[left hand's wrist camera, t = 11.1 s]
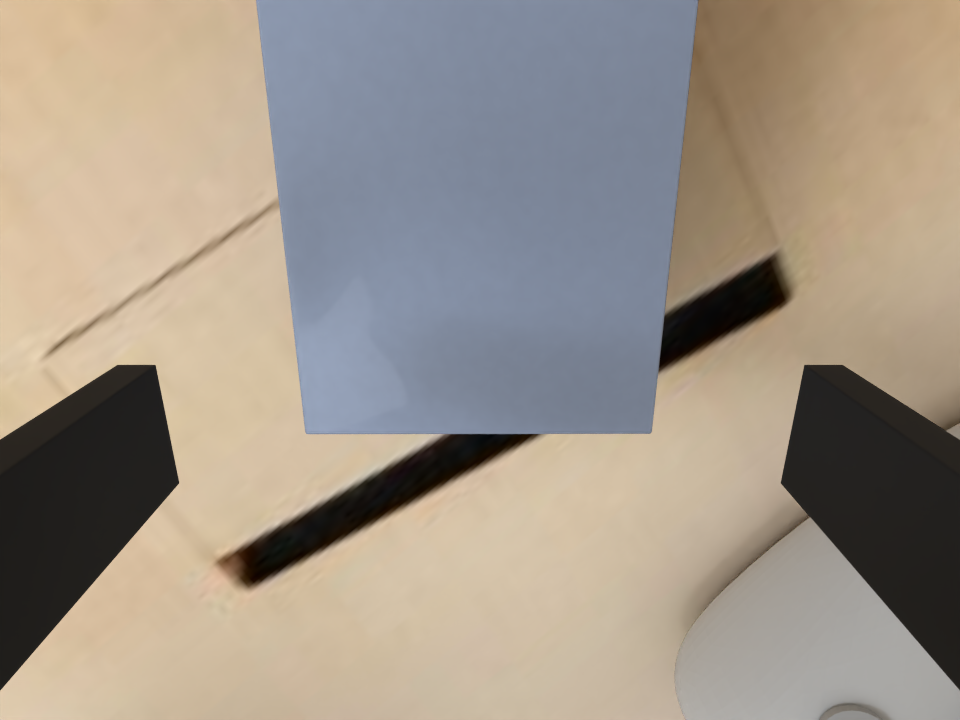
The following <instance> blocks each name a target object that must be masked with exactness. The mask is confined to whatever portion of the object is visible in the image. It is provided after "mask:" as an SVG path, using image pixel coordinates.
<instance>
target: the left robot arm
mask: <svg viewBox="0 0 960 720" xmlns="http://www.w3.org/2000/svg"><path fill="white" fill-rule="evenodd" d="M178 484H179V480H178V475H177V470H176V465H175V460H174V455H173V450H172V445H171V440H170V435H169V430H168V425H167V420H166V415H165V410H164V405H163V400H162V395H161V390H160V385H159V380H158V375H157V370H156V365H117V366H115V367H114V368H112V369H111V370H109V371H107V372H106V373H104V374H103V375H101V376H100V377H98V378H96V379H95V380H93V381H92V382H90V383H89V384H87V385H85V386H84V387H82V388H81V389H79V390H78V391H76V392H74V393H73V394H71V395H70V396H68V397H67V398H65V399H63V400H62V401H60V402H59V403H57V404H56V405H54V406H52V407H51V408H49V409H48V410H46V411H45V412H43V413H41V414H40V415H38V416H37V417H35V418H34V419H32V420H30V421H29V422H27V423H26V424H24V425H23V426H21V427H19V428H18V429H16V430H15V431H13V432H12V433H10V434H8V435H7V436H5V437H4V438H2V439H1V440H0V690H1V689H2V688H3V687H4V686H5V684H6V683H7V682H8V681H9V680H10V679H11V677H12V676H13V675H14V674H15V673H16V672H17V670H18V669H19V668H20V667H21V666H22V665H23V664H24V662H25V661H26V660H27V659H28V658H29V657H30V655H31V654H32V653H33V652H34V651H35V650H36V648H37V647H38V646H39V645H40V644H41V643H42V641H43V640H44V639H45V638H46V637H47V636H48V635H49V633H50V632H51V631H52V630H53V629H54V628H55V626H56V625H57V624H58V623H59V622H60V621H61V619H62V618H63V617H64V616H65V615H66V614H67V613H68V611H69V610H70V609H71V608H72V607H73V606H74V604H75V603H76V602H77V601H78V600H79V599H80V597H81V596H82V595H83V594H84V593H85V592H86V590H87V589H88V588H89V587H90V586H91V585H92V584H93V582H94V581H95V580H96V579H97V578H98V577H99V575H100V574H101V573H102V572H103V571H104V570H105V568H106V567H107V566H108V565H109V564H110V563H111V562H112V560H113V559H114V558H115V557H116V556H117V555H118V553H119V552H120V551H121V550H122V549H123V548H124V546H125V545H126V544H127V543H128V542H129V541H130V539H131V538H132V537H133V536H134V535H135V534H136V533H137V531H138V530H139V529H140V528H141V527H142V526H143V524H144V523H145V522H146V521H147V520H148V519H149V517H150V516H151V515H152V514H153V513H154V512H155V510H156V509H157V508H158V507H159V506H160V505H161V504H162V502H163V501H164V500H165V499H166V498H167V497H168V495H169V494H170V493H171V492H172V491H173V490H174V488H175V487H176V486H177V485H178ZM781 484H782V485H783V486H784V487H785V488H786V490H787V491H788V492H789V493H790V494H791V495H792V497H793V498H794V499H795V500H796V501H797V502H798V504H799V505H800V506H801V507H802V508H803V509H804V511H805V512H806V513H807V514H808V515H809V516H810V517H811V519H812V520H813V521H814V522H815V523H816V524H817V526H818V527H819V528H820V529H821V530H822V531H823V533H824V534H825V535H826V536H827V537H828V538H829V539H830V541H831V542H832V543H833V544H834V545H835V546H836V548H837V549H838V550H839V551H840V552H841V553H842V555H843V556H844V557H845V558H846V559H847V560H848V562H849V563H850V564H851V565H852V566H853V567H854V568H855V570H856V571H857V572H858V573H859V574H860V575H861V577H862V578H863V579H864V580H865V581H866V582H867V584H868V585H869V586H870V587H871V588H872V589H873V590H874V592H875V593H876V594H877V595H878V596H879V597H880V599H881V600H882V601H883V602H884V603H885V604H886V606H887V607H888V608H889V609H890V610H891V611H892V613H893V614H894V615H895V616H896V617H897V618H898V619H899V621H900V622H901V623H902V624H903V625H904V626H905V628H906V629H907V630H908V631H909V632H910V633H911V635H912V636H913V637H914V638H915V639H916V640H917V641H918V643H919V644H920V645H921V646H922V647H923V648H924V650H925V651H926V652H927V653H928V654H929V655H930V657H931V658H932V659H933V660H934V661H935V662H936V664H937V665H938V666H939V667H940V668H941V669H942V670H943V672H944V673H945V674H946V675H947V676H948V677H949V679H950V680H951V681H952V682H953V683H954V684H955V686H956V687H957V688H958V689H959V690H960V440H959V439H958V438H956V437H955V436H953V435H952V434H950V433H948V432H947V431H945V430H944V429H942V428H941V427H939V426H937V425H936V424H934V423H933V422H931V421H930V420H928V419H926V418H925V417H923V416H922V415H920V414H919V413H917V412H915V411H914V410H912V409H911V408H909V407H908V406H906V405H904V404H903V403H901V402H900V401H898V400H897V399H895V398H893V397H892V396H890V395H889V394H887V393H886V392H884V391H882V390H881V389H879V388H878V387H876V386H875V385H873V384H871V383H870V382H868V381H867V380H865V379H864V378H862V377H860V376H859V375H857V374H856V373H854V372H853V371H851V370H849V369H848V368H846V367H845V366H843V365H804V370H803V375H802V380H801V385H800V390H799V395H798V400H797V405H796V410H795V415H794V420H793V425H792V430H791V435H790V440H789V445H788V450H787V455H786V460H785V465H784V470H783V475H782V480H781Z"/></svg>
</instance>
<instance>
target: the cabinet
mask: <svg viewBox="0 0 960 720" xmlns="http://www.w3.org/2000/svg"><path fill="white" fill-rule="evenodd" d="M256 3H257V12H258V21H259V29H260V38H261V47H262V56H263V64H264V73H265V82H266V91H267V100H268V108H269V117H270V126H271V135H272V143H273V152H274V161H275V170H276V178H277V187H278V196H279V205H280V213H281V222H282V231H283V240H284V248H285V257H286V266H287V275H288V283H289V292H290V301H291V310H292V318H293V327H294V336H295V345H296V353H297V362H298V371H299V380H300V389H301V397H302V406H303V415H304V424H305V432H306V434H650V433H651V432H652V424H653V415H654V406H655V396H656V387H657V378H658V369H659V359H660V350H661V341H662V332H663V323H664V313H665V304H666V295H667V286H668V276H669V267H670V258H671V249H672V239H673V230H674V221H675V212H676V203H677V193H678V184H679V175H680V166H681V156H682V147H683V138H684V129H685V119H686V110H687V101H688V92H689V82H690V73H691V64H692V55H693V46H694V36H695V27H696V18H697V9H698V0H256Z"/></svg>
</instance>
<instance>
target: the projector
mask: <svg viewBox="0 0 960 720" xmlns="http://www.w3.org/2000/svg"><path fill="white" fill-rule="evenodd" d="M946 431H947V432H948V433H950V434H952V435H953V436H955V437H956V438H958V439H959V440H960V423H959V424H957V425H955V426H953V427H952V428H950V429H948V430H946ZM675 689H676V694H677V699H678V701H679V704H680V707H681V710H682V713H683V715H684V717H685V719H686V720H960V690H959V689H958V688H957V687H956V686H955V684H954V683H953V682H952V681H951V680H950V679H949V677H948V676H947V675H946V674H945V673H944V672H943V670H942V669H941V668H940V667H939V666H938V665H937V664H936V662H935V661H934V660H933V659H932V658H931V657H930V655H929V654H928V653H927V652H926V651H925V650H924V648H923V647H922V646H921V645H920V644H919V643H918V641H917V640H916V639H915V638H914V637H913V636H912V635H911V633H910V632H909V631H908V630H907V629H906V628H905V626H904V625H903V624H902V623H901V622H900V621H899V619H898V618H897V617H896V616H895V615H894V614H893V613H892V611H891V610H890V609H889V608H888V607H887V606H886V604H885V603H884V602H883V601H882V600H881V599H880V597H879V596H878V595H877V594H876V593H875V592H874V590H873V589H872V588H871V587H870V586H869V585H868V584H867V582H866V581H865V580H864V579H863V578H862V577H861V575H860V574H859V573H858V572H857V571H856V570H855V568H854V567H853V566H852V565H851V564H850V563H849V562H848V560H847V559H846V558H845V557H844V556H843V555H842V553H841V552H840V551H839V550H838V549H837V548H836V546H835V545H834V544H833V543H832V542H831V541H830V539H829V538H828V537H827V536H826V535H825V534H824V533H823V531H822V530H821V529H820V528H819V527H818V526H817V524H816V523H815V522H814V521H813V520H812V519H811V517H809V518H808V519H807V520H805V521H804V522H803V523H801V524H800V525H799V526H797V527H796V528H795V529H794V530H792V531H791V532H790V533H789V534H787V535H786V536H785V537H784V538H782V539H781V540H780V541H779V542H777V543H776V544H775V545H774V546H772V547H771V548H770V549H769V550H768V551H767V552H765V553H764V554H763V555H762V556H761V557H760V558H758V559H757V560H756V561H755V562H754V563H753V564H751V565H750V566H749V567H748V568H747V569H746V570H745V571H743V572H742V573H741V574H740V575H739V576H738V577H737V578H736V579H735V580H734V581H733V582H731V583H730V584H729V585H728V586H727V587H726V588H725V589H724V590H723V591H722V592H721V593H720V594H719V595H718V596H717V597H716V598H715V599H714V600H713V601H712V602H711V603H710V604H709V605H708V607H707V608H706V609H705V610H704V611H703V612H702V613H701V615H700V616H699V617H698V618H697V619H696V621H695V622H694V624H693V625H692V627H691V628H690V629H689V631H688V632H687V634H686V636H685V638H684V640H683V642H682V644H681V647H680V649H679V652H678V655H677V659H676V665H675Z"/></svg>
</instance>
